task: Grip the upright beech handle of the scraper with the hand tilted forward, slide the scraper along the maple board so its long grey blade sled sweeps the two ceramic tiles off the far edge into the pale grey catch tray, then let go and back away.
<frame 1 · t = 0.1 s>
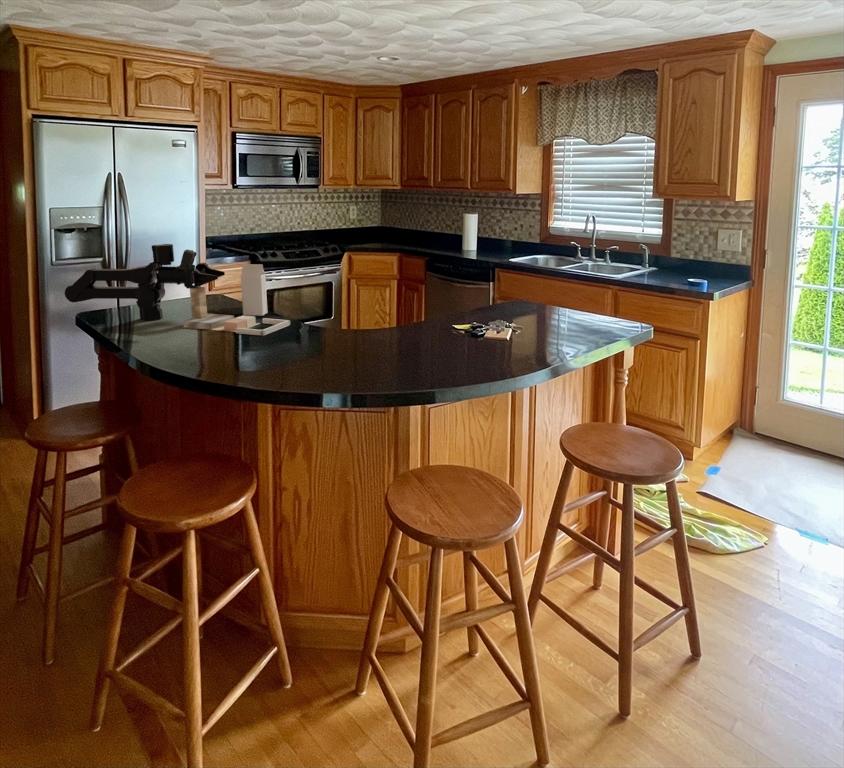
hand: (221, 275, 255), 17 cm above the counter, tool horizontal, fingers open, 9 cm apart
board: (222, 329, 250), on the counter
tile b: (235, 328, 245), point 1 cm above the counter, touching board
tile a: (245, 324, 250), point 1 cm above the counter, touching board
tray: (264, 333, 245), on the counter
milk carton: (255, 318, 270), on the counter
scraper: (200, 323, 253), point 1 cm above the counter, touching board
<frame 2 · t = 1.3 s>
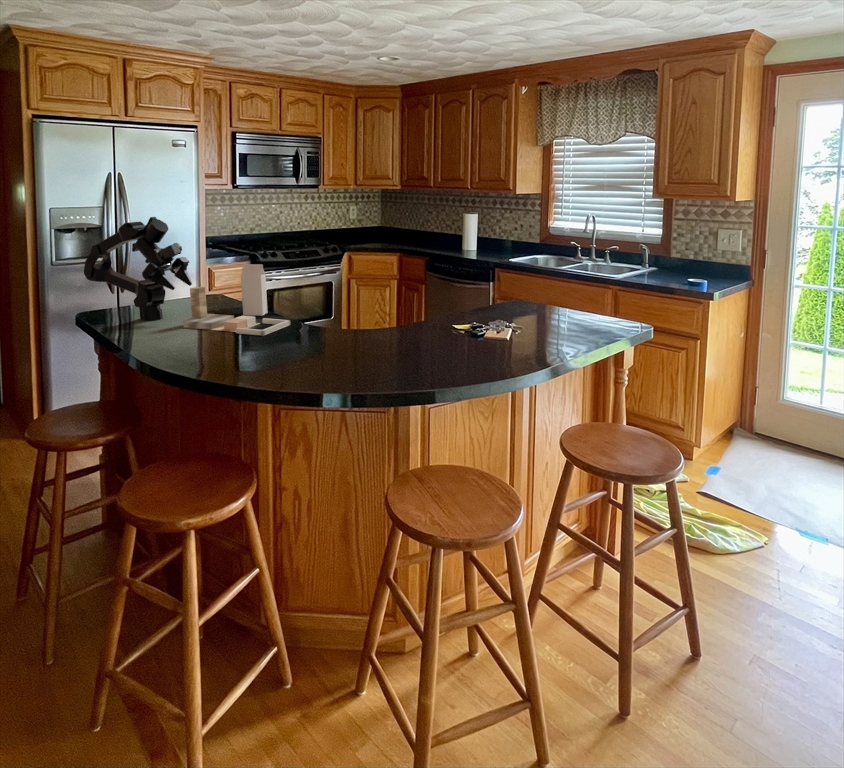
hand: (182, 286, 251), 13 cm above the counter, tool tilted 45°, fingers open, 9 cm apart
nothing on the counter moved.
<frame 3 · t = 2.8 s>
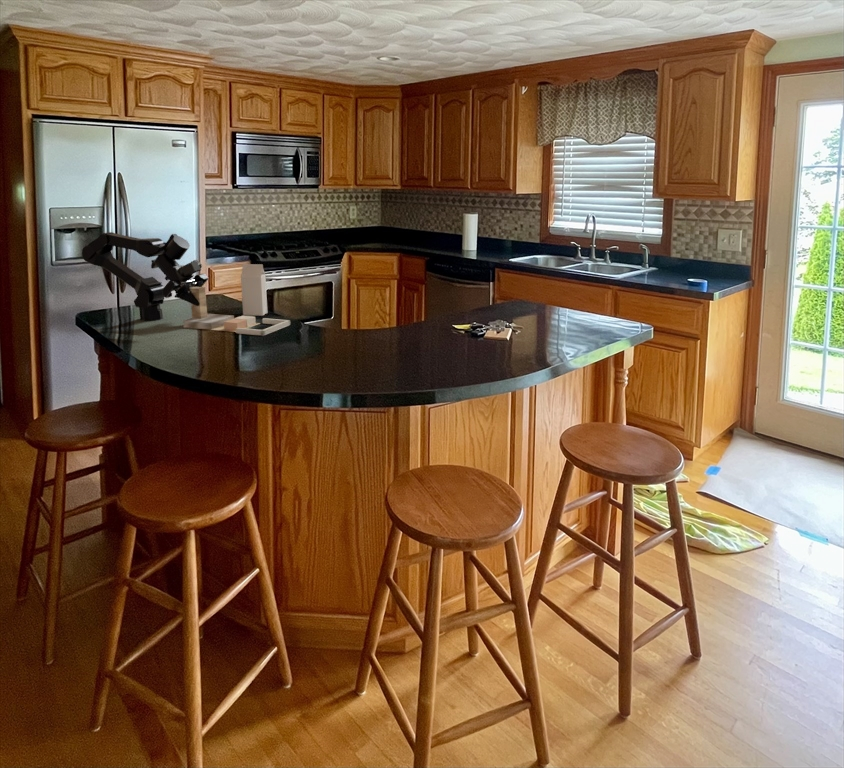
hand: (202, 304, 250), 8 cm above the counter, tool tilted 45°, fingers closed on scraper, 3 cm apart
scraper: (200, 323, 253), point 1 cm above the counter, touching board, gripper
everything else where it was.
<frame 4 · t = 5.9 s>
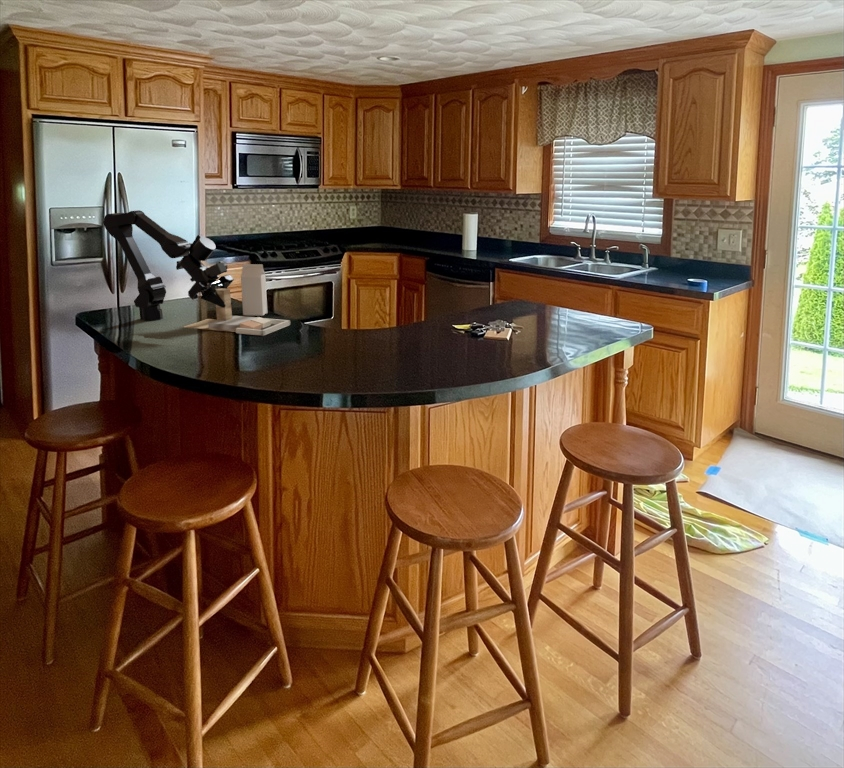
hand: (228, 305, 247), 8 cm above the counter, tool tilted 45°, fingers closed on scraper, 3 cm apart
tile b: (250, 331, 243), point 1 cm above the counter, tilted 11°, touching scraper
tile a: (260, 327, 249), point 1 cm above the counter, tilted 11°, touching board, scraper, tray
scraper: (225, 325, 250), point 2 cm above the counter, touching gripper, tile a, tile b
everything else where it was.
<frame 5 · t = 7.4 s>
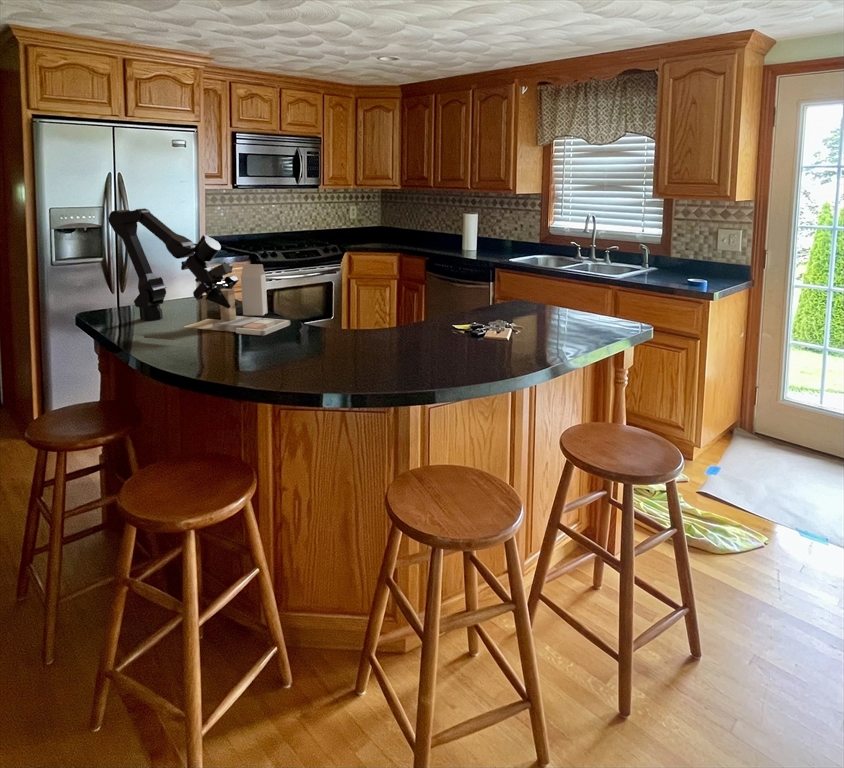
hand: (233, 306, 247), 8 cm above the counter, tool tilted 45°, fingers closed on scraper, 3 cm apart
tile b: (254, 333, 243), point 1 cm above the counter, touching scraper, tray
tile a: (264, 329, 248), point 1 cm above the counter, touching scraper, tray
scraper: (229, 325, 249), point 2 cm above the counter, touching board, gripper, tile a, tile b
everything else where it was.
when the fingers open (8 cm above the counter, at t = 8.0 s): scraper stays where it is, resting on board.
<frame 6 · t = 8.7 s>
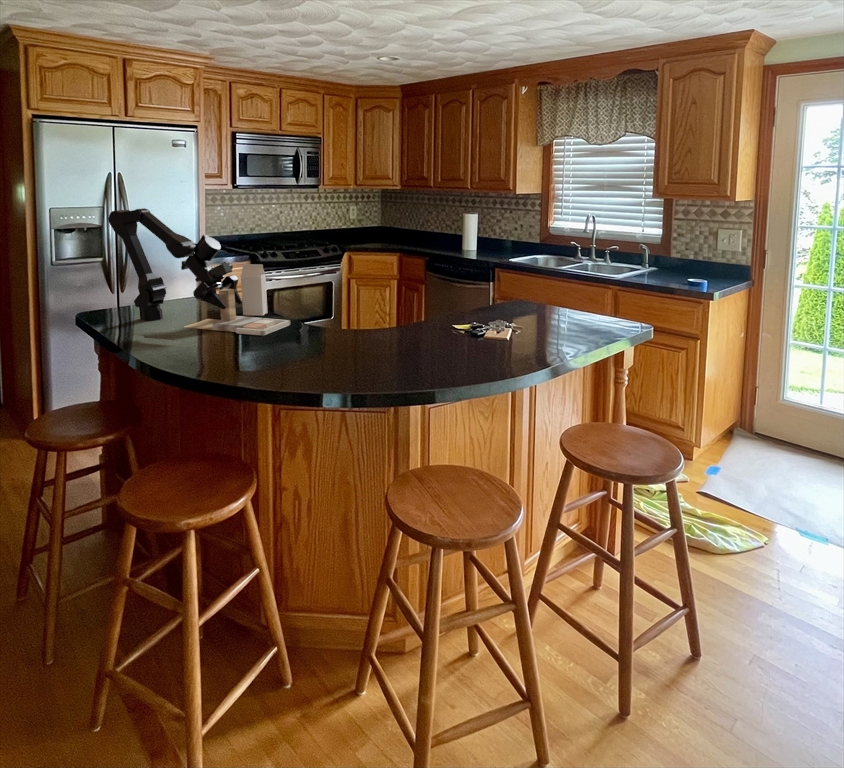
hand: (233, 306, 246), 8 cm above the counter, tool tilted 45°, fingers open, 9 cm apart
tile b: (254, 333, 243), point 1 cm above the counter, touching tray
tile a: (264, 329, 248), point 1 cm above the counter, touching tray
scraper: (229, 325, 249), point 1 cm above the counter, touching board
everything else where it was.
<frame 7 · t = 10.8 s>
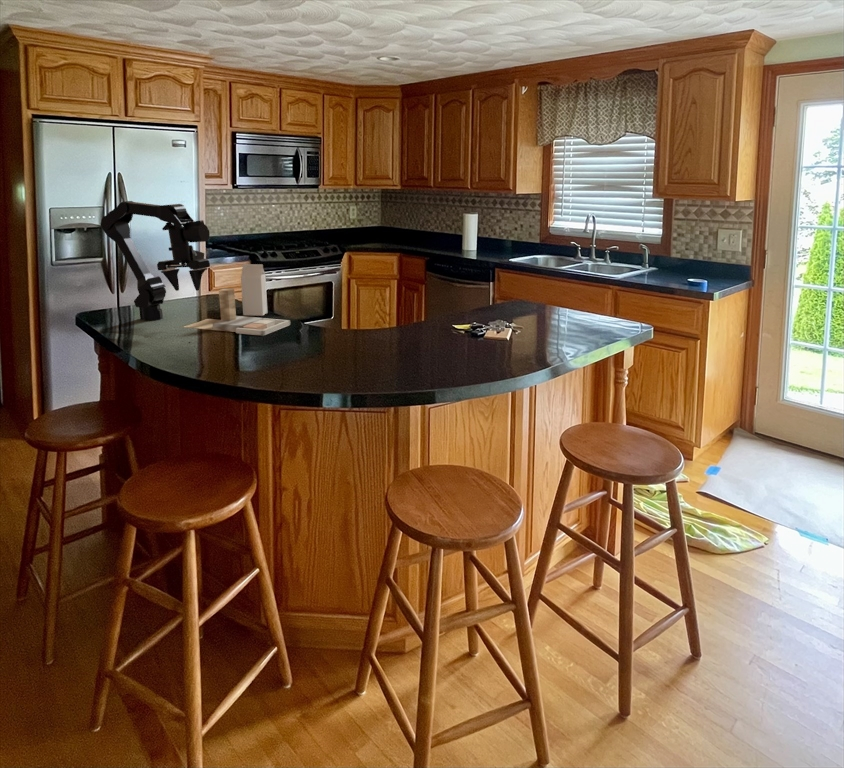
hand: (187, 290, 251), 12 cm above the counter, tool pointing down, fingers open, 9 cm apart
nothing on the counter moved.
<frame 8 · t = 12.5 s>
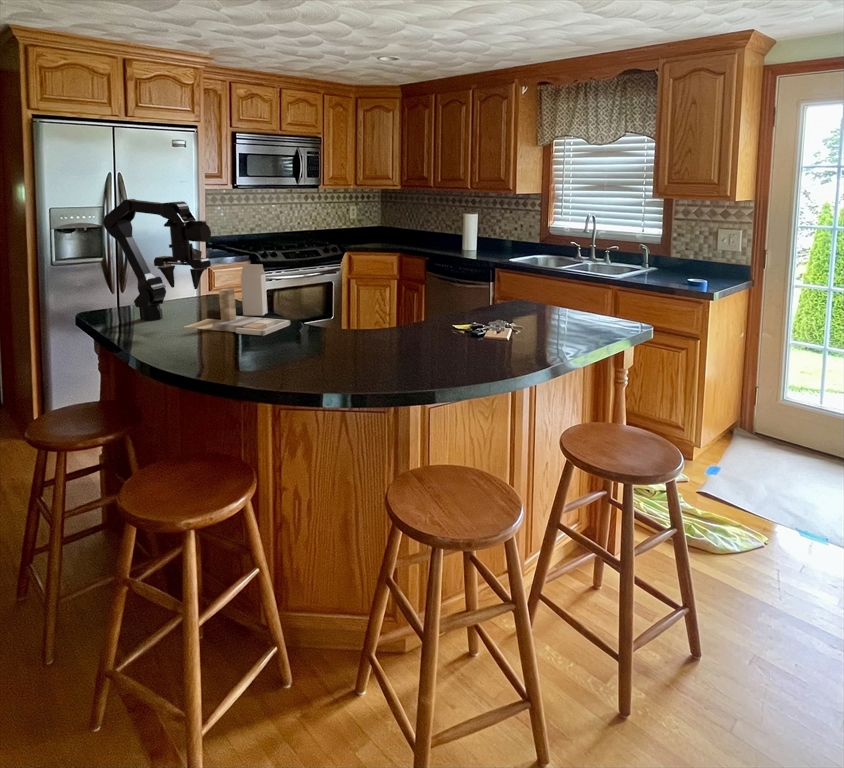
hand: (184, 288, 251), 13 cm above the counter, tool pointing down, fingers open, 9 cm apart
nothing on the counter moved.
at the end: tile a inside the target area (6.4 cm from its centre), point 0.6 cm above the counter; tile b inside the target area (6.8 cm from its centre), point 0.6 cm above the counter; the gripper is holding nothing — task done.
